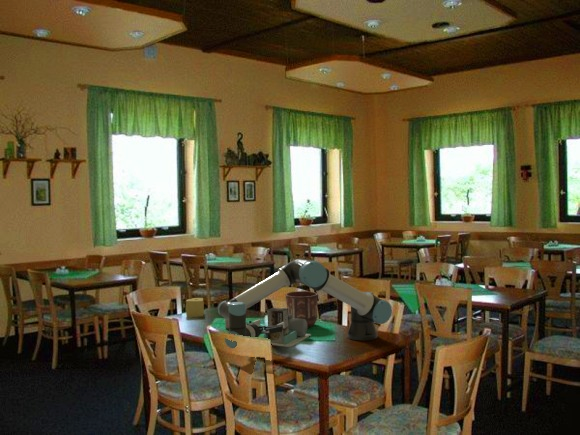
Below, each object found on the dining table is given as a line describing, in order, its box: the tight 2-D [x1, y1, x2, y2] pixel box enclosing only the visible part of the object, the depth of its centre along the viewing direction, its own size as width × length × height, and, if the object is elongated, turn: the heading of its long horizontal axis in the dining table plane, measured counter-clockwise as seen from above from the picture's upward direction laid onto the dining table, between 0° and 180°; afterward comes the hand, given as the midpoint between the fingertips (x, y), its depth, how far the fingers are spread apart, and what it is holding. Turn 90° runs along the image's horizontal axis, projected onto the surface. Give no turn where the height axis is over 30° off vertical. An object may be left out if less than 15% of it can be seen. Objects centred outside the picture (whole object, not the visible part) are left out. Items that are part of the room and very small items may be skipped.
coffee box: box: [266, 307, 289, 343], centre depth 306 cm, size 9×6×16 cm
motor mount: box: [263, 314, 312, 348], centre depth 313 cm, size 19×24×12 cm
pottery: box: [285, 290, 319, 329], centre depth 343 cm, size 18×18×18 cm
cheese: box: [185, 297, 205, 318], centre depth 375 cm, size 10×11×10 cm
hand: (271, 323), depth 300 cm, fingers open, 13 cm apart
